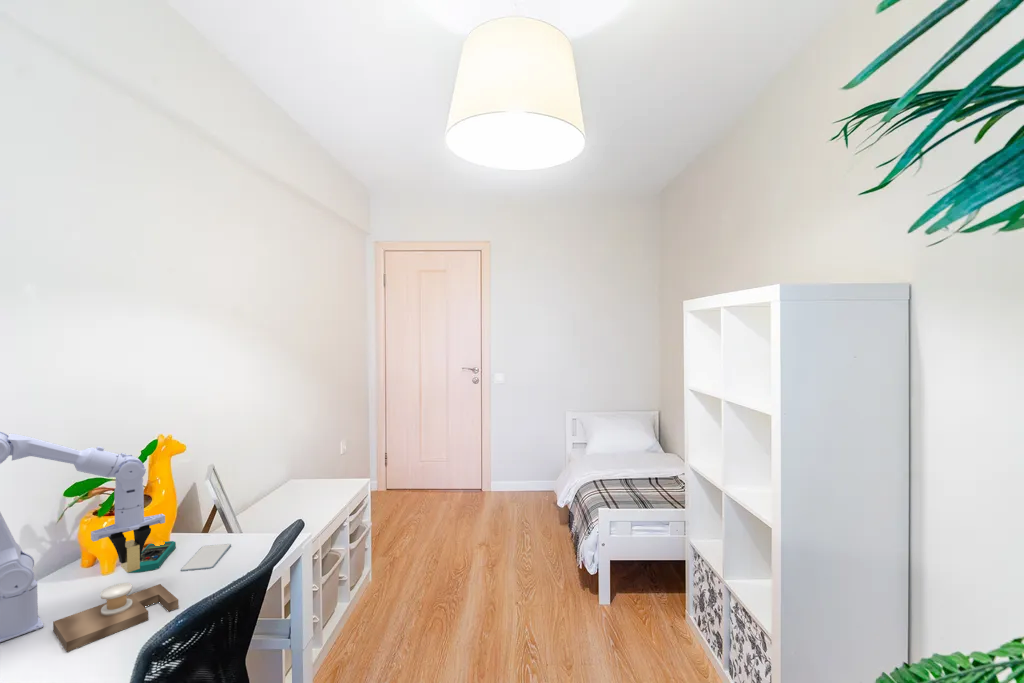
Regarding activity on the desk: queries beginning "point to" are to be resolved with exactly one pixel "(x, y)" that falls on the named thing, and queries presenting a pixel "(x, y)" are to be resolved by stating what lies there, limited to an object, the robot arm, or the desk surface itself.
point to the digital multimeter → (154, 556)
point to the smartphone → (206, 557)
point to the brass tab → (131, 556)
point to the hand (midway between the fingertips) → (130, 559)
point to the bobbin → (116, 599)
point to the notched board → (110, 618)
